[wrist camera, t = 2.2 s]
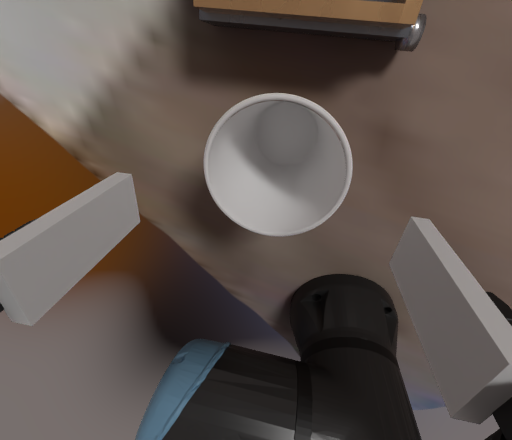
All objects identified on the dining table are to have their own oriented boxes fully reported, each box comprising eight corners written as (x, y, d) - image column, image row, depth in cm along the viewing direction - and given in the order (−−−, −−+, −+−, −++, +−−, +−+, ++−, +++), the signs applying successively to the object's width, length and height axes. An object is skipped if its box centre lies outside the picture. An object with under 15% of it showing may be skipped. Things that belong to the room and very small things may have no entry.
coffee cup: (357, 130, 27) (387, 171, 17) (288, 196, 32) (280, 258, 22) (282, 56, 25) (265, 51, 14) (221, 139, 30) (177, 179, 19)
